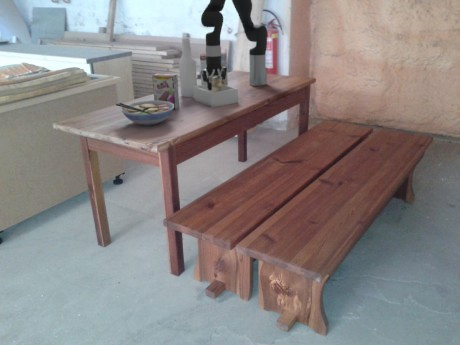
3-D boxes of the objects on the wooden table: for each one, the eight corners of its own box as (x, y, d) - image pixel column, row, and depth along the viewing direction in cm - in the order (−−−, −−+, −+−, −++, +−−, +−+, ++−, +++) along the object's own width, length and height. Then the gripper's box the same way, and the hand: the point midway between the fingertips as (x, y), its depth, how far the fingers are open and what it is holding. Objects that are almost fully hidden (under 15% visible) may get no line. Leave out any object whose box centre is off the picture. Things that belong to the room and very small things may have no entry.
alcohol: (182, 93, 248) (178, 37, 237) (198, 93, 247) (195, 36, 236) (179, 97, 240) (175, 39, 228) (196, 97, 239) (192, 38, 228)
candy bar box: (154, 109, 220) (151, 75, 213) (159, 106, 224) (156, 73, 218) (175, 110, 216) (173, 76, 210) (179, 108, 221) (177, 74, 214)
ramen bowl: (188, 122, 197) (186, 104, 194) (144, 135, 182) (142, 115, 179) (154, 112, 214) (152, 95, 210) (111, 123, 199) (108, 105, 196)
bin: (218, 95, 242) (217, 82, 240) (237, 102, 228) (237, 88, 225) (193, 99, 235) (192, 86, 232) (212, 107, 220) (211, 92, 218)
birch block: (216, 90, 233) (216, 76, 230) (221, 92, 229) (221, 78, 226) (208, 91, 230) (207, 77, 227) (213, 93, 226) (212, 79, 224)
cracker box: (228, 90, 254) (227, 51, 246) (226, 92, 248) (225, 53, 240) (203, 90, 255) (201, 52, 247) (201, 92, 250) (199, 53, 241)
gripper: (222, 52, 229) (223, 86, 235) (197, 55, 222) (198, 89, 228) (230, 54, 223) (230, 88, 230) (204, 57, 216) (206, 92, 223)
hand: (214, 89), depth 229 cm, fingers closed on birch block, 5 cm apart
